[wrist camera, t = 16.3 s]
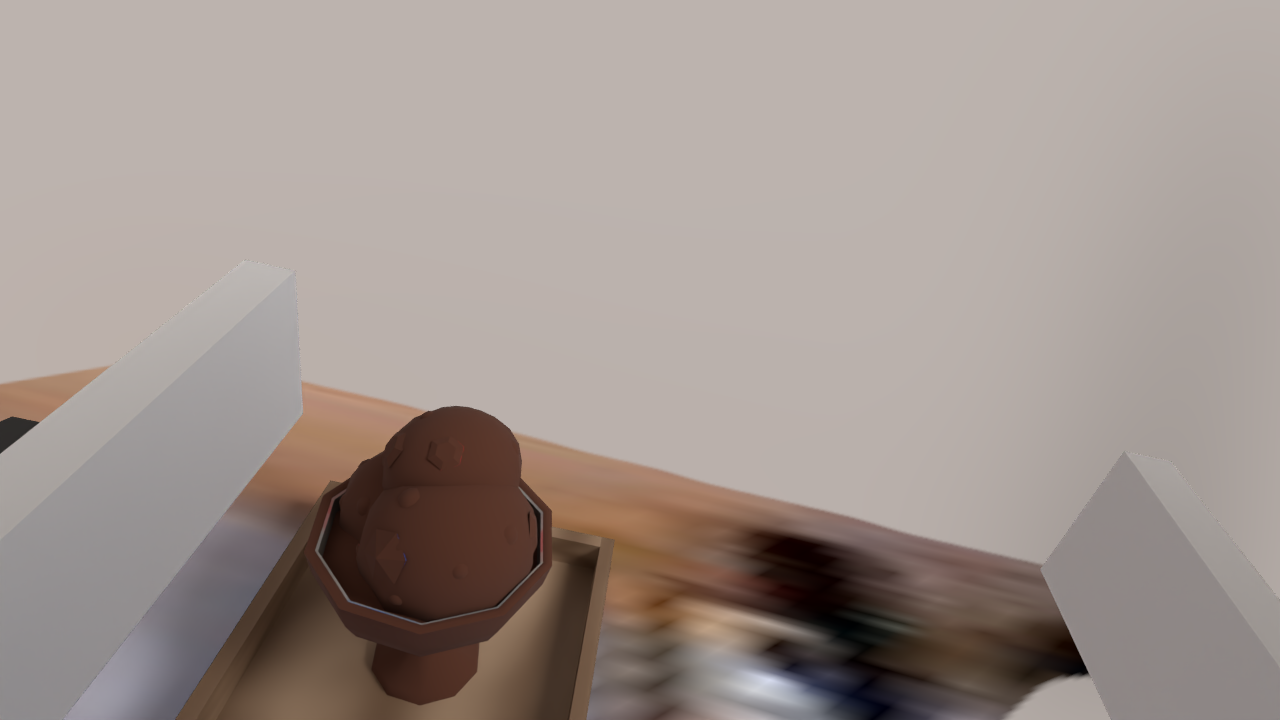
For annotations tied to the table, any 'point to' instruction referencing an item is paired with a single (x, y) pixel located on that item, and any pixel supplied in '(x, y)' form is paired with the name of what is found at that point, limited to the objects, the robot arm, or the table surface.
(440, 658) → the ice cream bowl
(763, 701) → the table surface
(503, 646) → the light brown wooden tray
